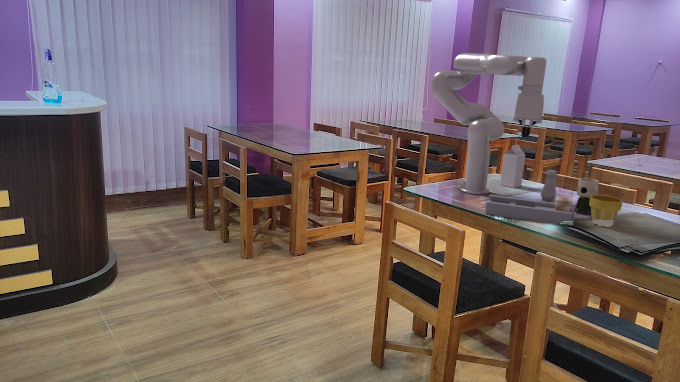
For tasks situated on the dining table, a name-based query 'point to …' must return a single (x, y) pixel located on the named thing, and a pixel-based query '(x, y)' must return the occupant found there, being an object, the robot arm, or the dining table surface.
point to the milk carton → (512, 167)
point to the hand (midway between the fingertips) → (525, 136)
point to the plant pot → (604, 207)
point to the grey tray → (527, 210)
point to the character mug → (586, 193)
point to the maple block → (563, 204)
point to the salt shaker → (549, 186)
